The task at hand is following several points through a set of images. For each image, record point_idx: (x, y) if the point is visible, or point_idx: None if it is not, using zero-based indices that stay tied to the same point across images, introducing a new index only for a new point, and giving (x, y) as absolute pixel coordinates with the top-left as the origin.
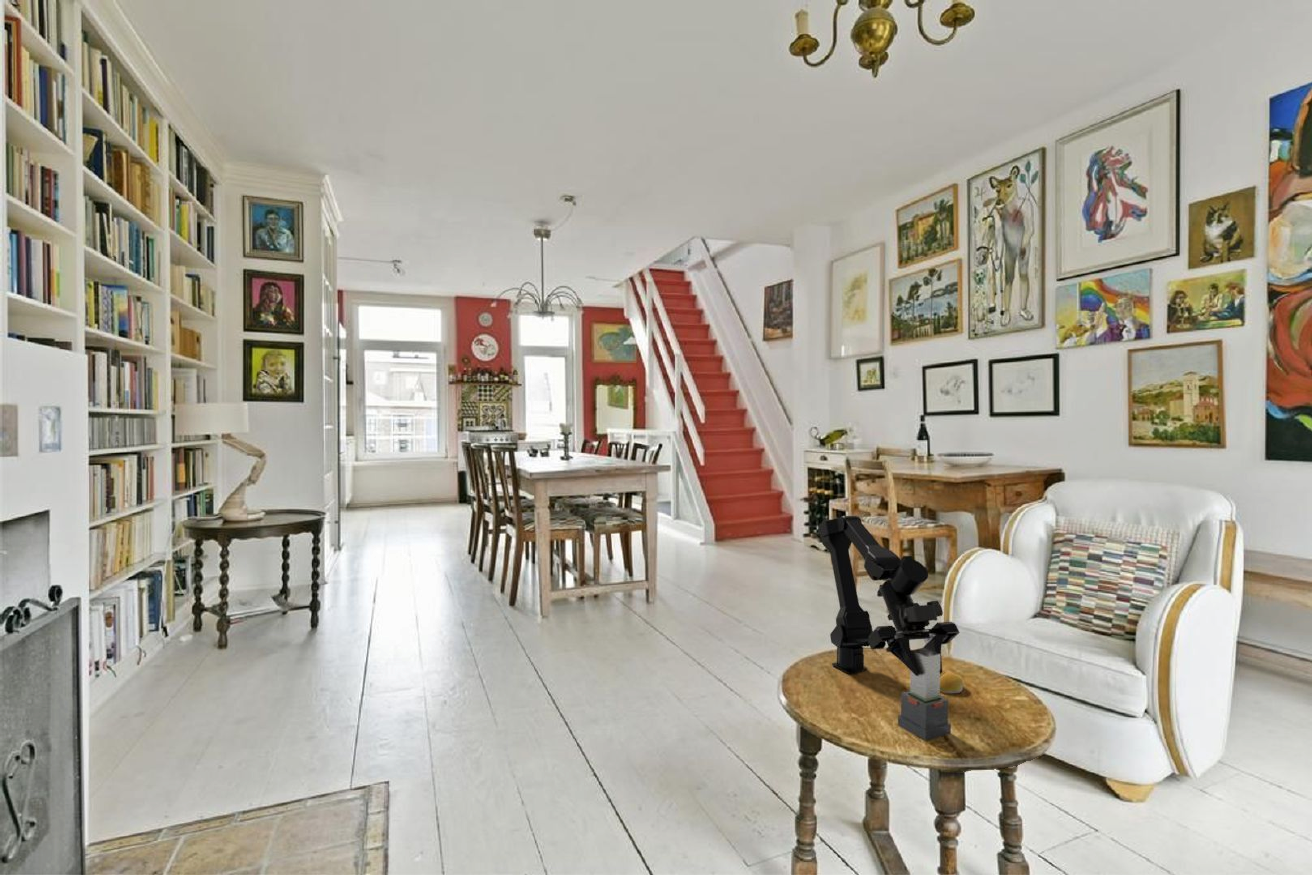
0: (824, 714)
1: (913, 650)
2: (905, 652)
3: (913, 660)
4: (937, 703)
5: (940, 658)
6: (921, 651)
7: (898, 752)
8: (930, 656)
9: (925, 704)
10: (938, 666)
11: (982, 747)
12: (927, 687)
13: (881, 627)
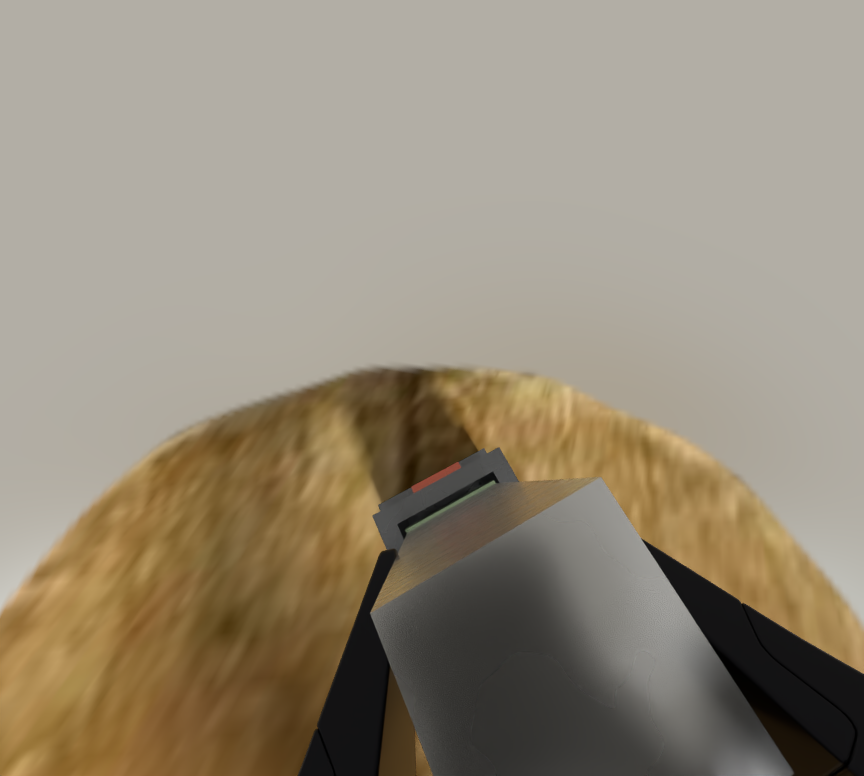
0: (790, 631)
1: (752, 767)
2: (860, 682)
3: (675, 586)
4: (440, 471)
5: (345, 676)
6: (631, 714)
7: (570, 388)
8: (540, 510)
9: (497, 460)
10: (412, 554)
11: (329, 423)
12: (494, 489)
13: None
